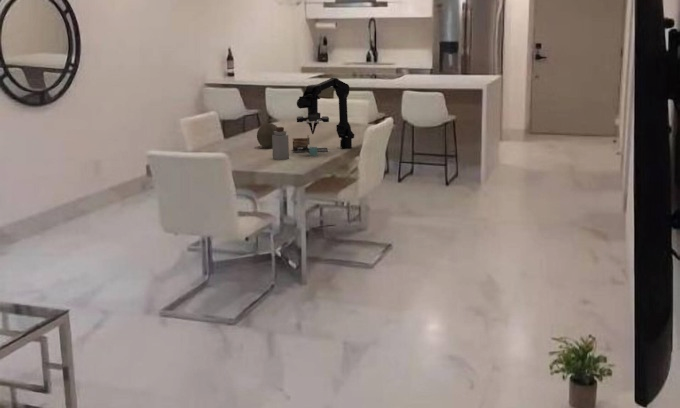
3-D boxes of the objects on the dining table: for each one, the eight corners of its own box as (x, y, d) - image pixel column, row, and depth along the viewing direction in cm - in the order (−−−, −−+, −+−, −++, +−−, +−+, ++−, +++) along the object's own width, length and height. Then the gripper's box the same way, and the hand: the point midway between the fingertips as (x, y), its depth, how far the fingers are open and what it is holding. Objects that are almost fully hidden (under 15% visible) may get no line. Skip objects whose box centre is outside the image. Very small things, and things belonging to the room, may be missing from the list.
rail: (327, 149, 461) (327, 147, 460) (328, 152, 450) (328, 150, 450) (292, 149, 459) (292, 148, 459) (293, 153, 449) (292, 151, 448)
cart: (309, 147, 460) (308, 134, 458) (309, 150, 448) (309, 137, 447) (292, 147, 459) (292, 135, 458) (292, 151, 448) (292, 138, 446)
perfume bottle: (279, 160, 428) (277, 128, 423) (272, 158, 433) (271, 127, 429) (289, 158, 432) (288, 127, 427) (282, 156, 437) (281, 126, 432)
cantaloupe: (276, 149, 461) (275, 125, 457) (254, 149, 463) (253, 125, 460) (282, 145, 474) (282, 122, 470) (261, 145, 477) (260, 121, 473)
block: (317, 154, 444) (316, 146, 443) (317, 155, 440) (317, 148, 439) (309, 154, 444) (309, 146, 443) (309, 155, 440) (309, 148, 439)
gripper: (296, 108, 428) (296, 136, 432) (329, 108, 429) (329, 135, 433) (296, 106, 439) (296, 133, 443) (328, 106, 440) (328, 133, 444)
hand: (312, 134), depth 440 cm, fingers closed
